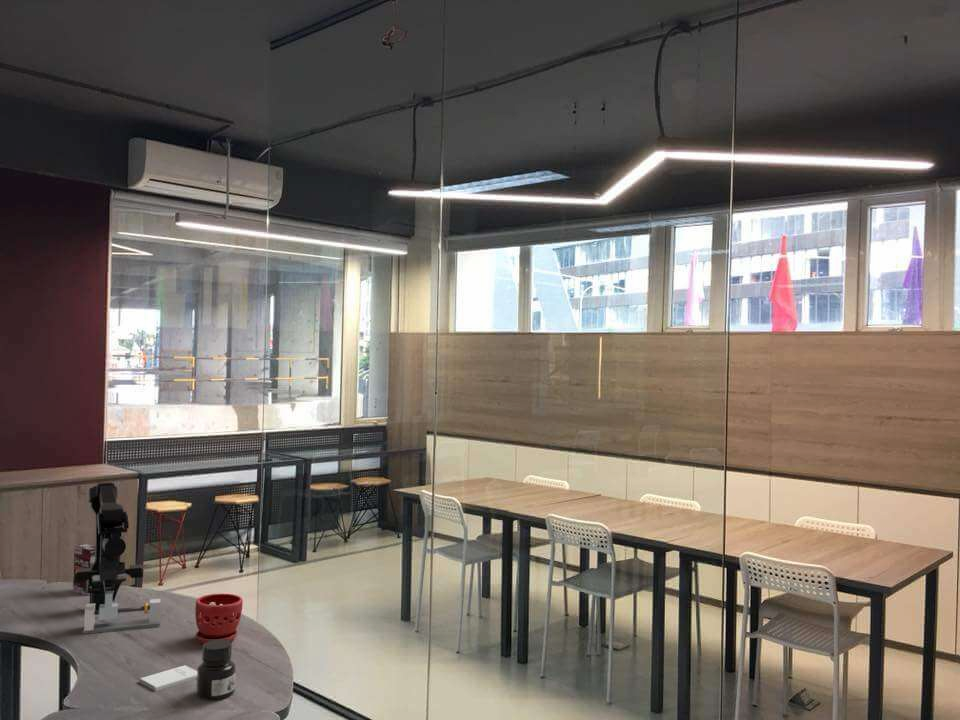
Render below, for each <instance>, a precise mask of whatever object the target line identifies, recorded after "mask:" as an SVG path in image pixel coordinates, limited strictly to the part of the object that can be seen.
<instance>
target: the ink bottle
mask: <svg viewBox="0 0 960 720" xmlns="http://www.w3.org/2000/svg"><path fill="white" fill-rule="evenodd" d="M232 647H233V643H232V642H231V641H227V640H213V641H209V642H206V643H202V653H201V654H202V655H201V656H202V660H201V661H202V662H201V664H200V665H199V666H198V667H197V670H196V671H197V678H196V696H197V698H199V699H201V700H202V699H203V700H208V701H218V700H222V699H225V698H227V697H230V696H231V695H233V694H234V693H235V690H236V689H235V688H236V664H235V662H234V661H233V660H231V659H232V652H233V651H232Z"/></svg>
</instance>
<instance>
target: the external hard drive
mask: <svg viewBox="0 0 960 720" xmlns="http://www.w3.org/2000/svg"><path fill="white" fill-rule="evenodd" d="M195 679H196V680H197V670H196V669H195V668H192V667H190V666H188V665H182V666H178V667H175V668H172V669H168V670H164V671H161V672H157V673H154V674H151V675H150V674H149V675H147V676H143V677H140V678H139V679H138V683H140V684H142V685H143V686H145V687H147V688H149V689H150V690H153V691H154V692H159V691H161V690H164V689H167V688H170V687H173V686H177V685H179V684H183V683H186V682H189V681H192V680H195Z"/></svg>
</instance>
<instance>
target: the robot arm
mask: <svg viewBox="0 0 960 720" xmlns="http://www.w3.org/2000/svg"><path fill="white" fill-rule="evenodd" d="M118 497H119V495H118V487H117V486H115V483H114V482H99V483H96V485H95V486H92V487H91V488H89V489H88V491H87V503H89V509H90V510H91V512H92V513H93V514H94V517H95V518H94V527H95V528H94V541H95V543H94V546H95V562H94V564H93V565H92V567H91V568H80V569H77V570H76V572H75V577H74V582H86V581H87V582H86V591H87V594H89V593H90V595H89V604H95V611H97V610H99V607H100V605H102V604H105V593H106V591H113V603H114V602H115V600H116V596H117V594H118V591H119V589H120V586H121V585H122V583H123V582H126V581H127V576H129V577H130V578H131V579H137V578H138V579H139V578H144V570H145V569H144V567H145V566H144V565H143V564H130V565H129V567H128V568H126V562H125V561H122V560H121V559H122V555H123V554H124V553H125V551H126V548H127V545H126V542H125V539H124V538H123V537H122V533H128V529H129V527H130V526H129V517H128V514H127V511H125V510H124V508H123V505H121V504H119V503H118V502H117V500H118ZM90 587H92V588H90Z"/></svg>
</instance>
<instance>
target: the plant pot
mask: <svg viewBox="0 0 960 720" xmlns="http://www.w3.org/2000/svg"><path fill="white" fill-rule="evenodd" d="M243 601H244V600H243V597H241V595H237V594H232V593H212V594H206V595H205V594H204V595H202V596H200V597H198V598H196V600H195V608H194V609H195V613H194V614H195V624H196V627H197V630H198V631H196V634H195V638H196V640H197V641H198V642H200V643H202V644H205V643H206V642H209V641H213V640H227V641H230V642H231V641H233V640H234V639H235V638H236V637H237V636H238V630H237V628H238V626H239V624H240V621H241V617H242V613H243V612H242V611H243ZM211 603H214V604H211Z"/></svg>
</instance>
